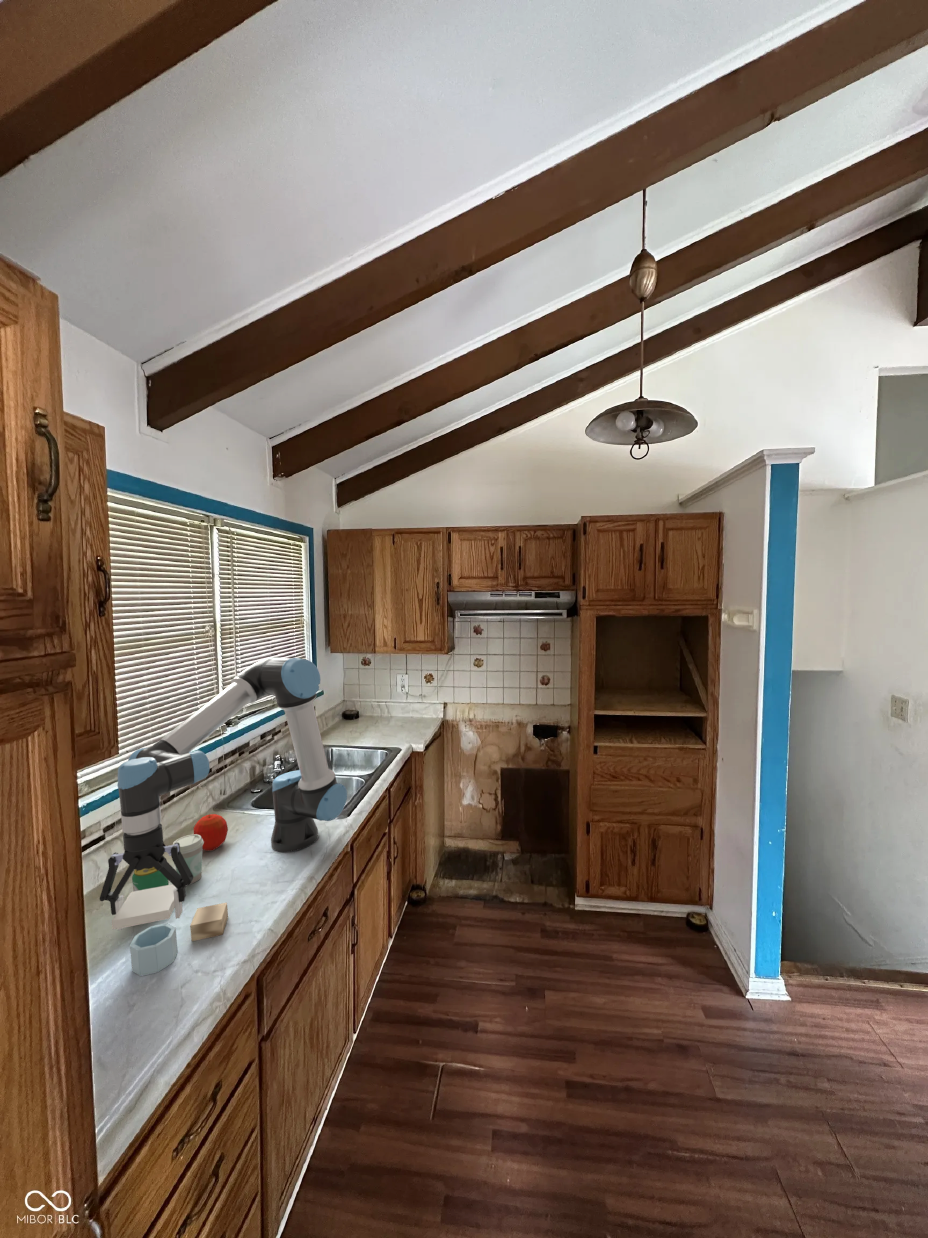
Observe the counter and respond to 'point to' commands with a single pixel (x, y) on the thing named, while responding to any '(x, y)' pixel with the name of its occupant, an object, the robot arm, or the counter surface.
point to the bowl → (153, 949)
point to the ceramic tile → (145, 907)
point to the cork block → (209, 921)
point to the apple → (211, 831)
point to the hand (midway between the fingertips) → (151, 920)
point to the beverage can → (148, 879)
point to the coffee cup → (192, 854)
